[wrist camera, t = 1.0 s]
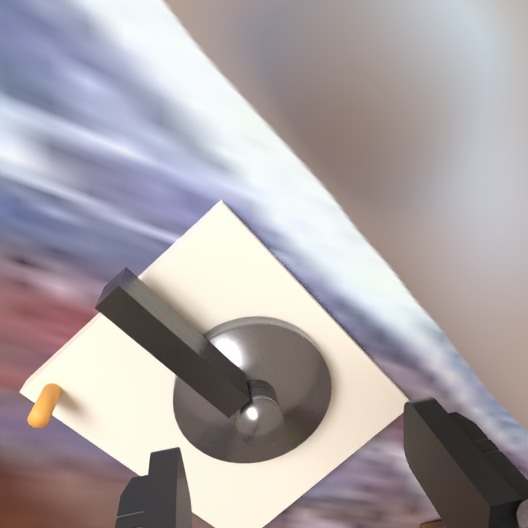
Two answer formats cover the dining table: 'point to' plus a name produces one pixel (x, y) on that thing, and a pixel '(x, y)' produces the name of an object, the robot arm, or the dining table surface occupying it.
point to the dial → (228, 374)
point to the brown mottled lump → (434, 525)
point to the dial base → (162, 379)
